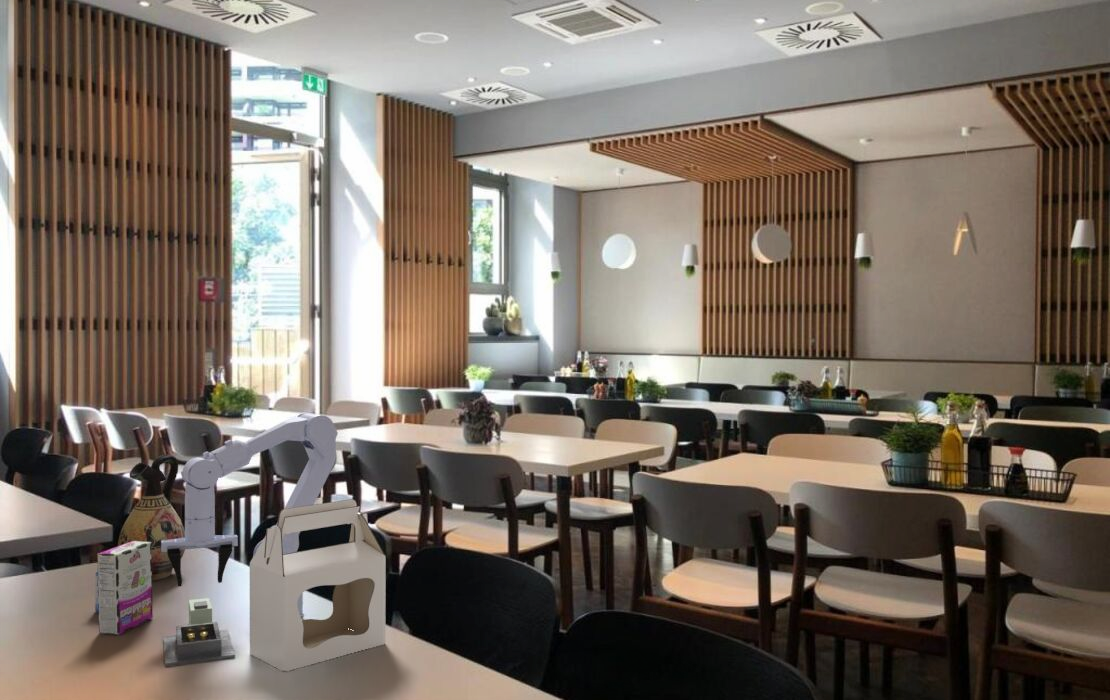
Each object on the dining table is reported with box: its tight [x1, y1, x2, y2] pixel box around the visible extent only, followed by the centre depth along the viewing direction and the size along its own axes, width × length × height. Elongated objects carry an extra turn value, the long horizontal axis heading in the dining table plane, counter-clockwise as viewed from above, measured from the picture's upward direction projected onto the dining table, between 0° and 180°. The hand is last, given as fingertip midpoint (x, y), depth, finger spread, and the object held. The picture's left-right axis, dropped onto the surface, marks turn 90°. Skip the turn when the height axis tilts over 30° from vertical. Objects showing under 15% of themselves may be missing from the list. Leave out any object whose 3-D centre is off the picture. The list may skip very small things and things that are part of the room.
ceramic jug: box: [117, 454, 186, 581], centre depth 231 cm, size 17×15×30 cm
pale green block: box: [188, 597, 213, 625], centre depth 192 cm, size 4×8×6 cm, turn 24°
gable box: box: [249, 499, 387, 673], centre depth 179 cm, size 22×13×28 cm, turn 135°
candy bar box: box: [96, 541, 154, 636], centre depth 192 cm, size 11×5×16 cm, turn 168°
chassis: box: [163, 621, 236, 668], centre depth 179 cm, size 12×16×3 cm
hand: (199, 583), depth 191 cm, fingers open, 7 cm apart
